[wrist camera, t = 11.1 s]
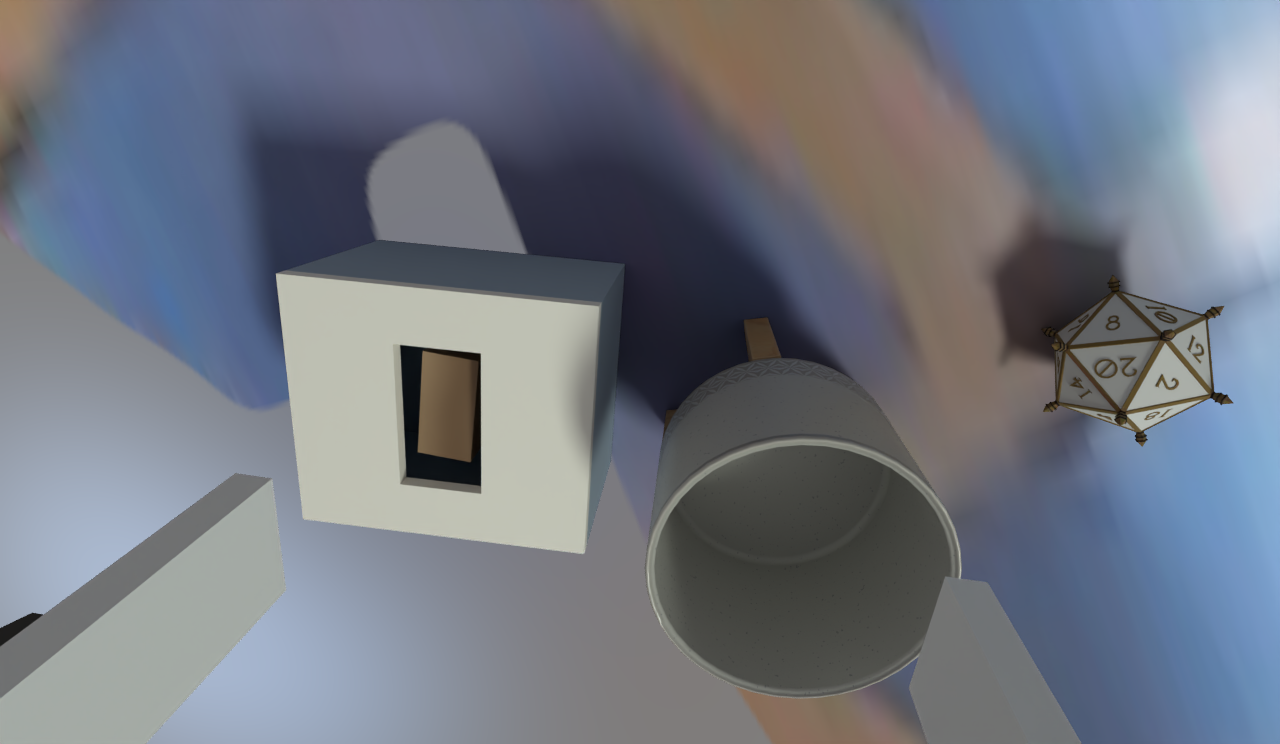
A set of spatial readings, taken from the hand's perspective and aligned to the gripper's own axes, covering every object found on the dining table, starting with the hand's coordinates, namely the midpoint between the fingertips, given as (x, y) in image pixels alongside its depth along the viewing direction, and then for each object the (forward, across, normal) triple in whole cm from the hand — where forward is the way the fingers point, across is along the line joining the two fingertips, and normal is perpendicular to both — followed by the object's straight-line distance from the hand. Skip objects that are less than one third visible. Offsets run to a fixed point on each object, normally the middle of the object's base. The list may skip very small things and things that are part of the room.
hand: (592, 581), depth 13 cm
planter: (+31, +7, -9) cm, 33 cm away
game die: (+31, +26, -2) cm, 40 cm away
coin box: (+30, -11, -8) cm, 33 cm away
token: (+30, -11, -7) cm, 33 cm away
